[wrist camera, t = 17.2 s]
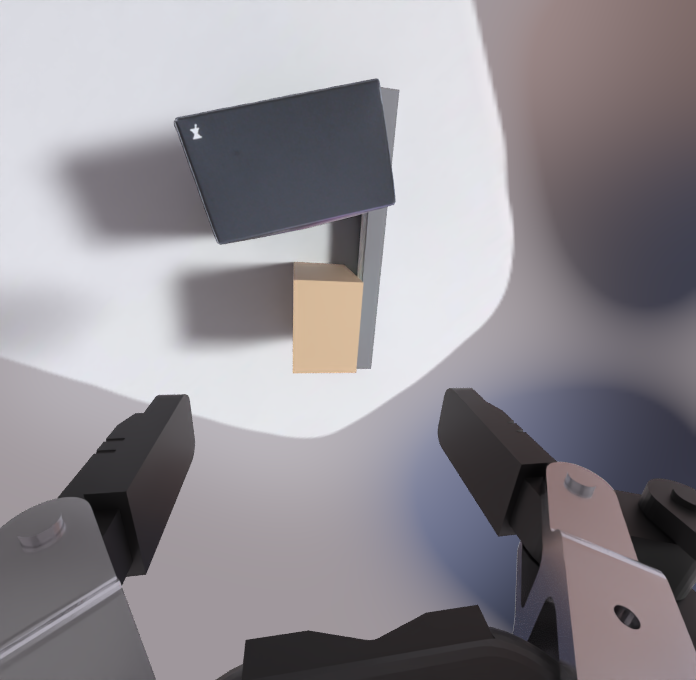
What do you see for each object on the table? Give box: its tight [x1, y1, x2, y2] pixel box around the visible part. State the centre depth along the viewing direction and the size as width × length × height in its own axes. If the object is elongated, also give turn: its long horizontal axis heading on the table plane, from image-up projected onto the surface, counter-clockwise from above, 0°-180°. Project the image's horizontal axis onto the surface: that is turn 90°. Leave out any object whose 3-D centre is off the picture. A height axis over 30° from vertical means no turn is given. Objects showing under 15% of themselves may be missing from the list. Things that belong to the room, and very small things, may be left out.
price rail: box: [356, 87, 399, 369], centre depth 28 cm, size 22×2×2 cm, turn 176°
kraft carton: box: [293, 262, 364, 373], centre depth 26 cm, size 5×6×9 cm
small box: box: [174, 79, 395, 244], centre depth 22 cm, size 11×6×10 cm, turn 102°
